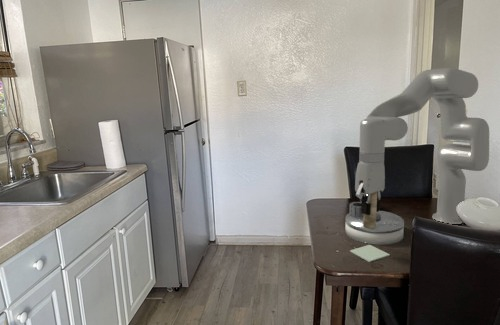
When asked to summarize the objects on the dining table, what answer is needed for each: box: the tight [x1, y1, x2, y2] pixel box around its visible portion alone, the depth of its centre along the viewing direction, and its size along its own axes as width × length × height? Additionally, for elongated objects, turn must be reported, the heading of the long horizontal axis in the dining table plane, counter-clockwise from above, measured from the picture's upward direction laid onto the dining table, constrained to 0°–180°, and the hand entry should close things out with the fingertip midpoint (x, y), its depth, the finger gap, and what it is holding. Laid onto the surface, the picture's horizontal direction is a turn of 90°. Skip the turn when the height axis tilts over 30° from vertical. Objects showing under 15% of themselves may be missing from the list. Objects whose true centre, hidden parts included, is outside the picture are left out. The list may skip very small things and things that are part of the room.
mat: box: [349, 244, 391, 263], centre depth 117 cm, size 9×9×1 cm
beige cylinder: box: [363, 191, 377, 229], centre depth 114 cm, size 4×4×14 cm
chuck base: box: [344, 223, 405, 246], centre depth 133 cm, size 21×21×4 cm
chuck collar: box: [345, 201, 405, 233], centre depth 132 cm, size 21×21×6 cm
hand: (370, 211), depth 114 cm, fingers closed on beige cylinder, 4 cm apart
